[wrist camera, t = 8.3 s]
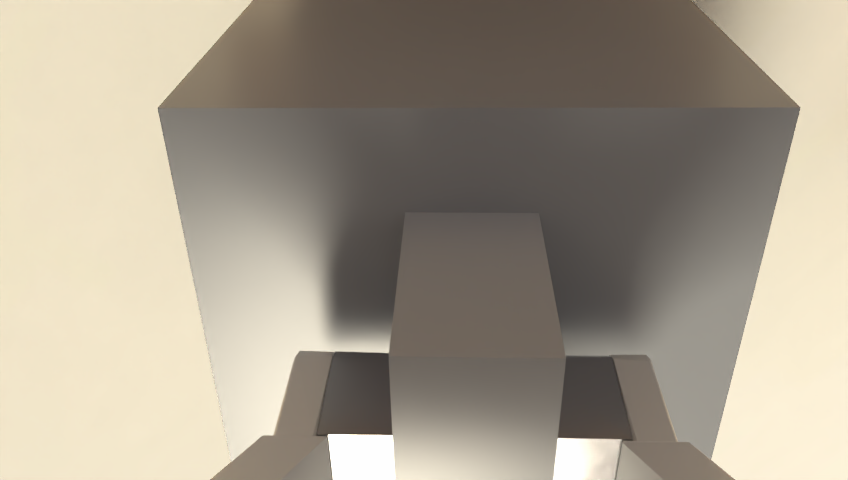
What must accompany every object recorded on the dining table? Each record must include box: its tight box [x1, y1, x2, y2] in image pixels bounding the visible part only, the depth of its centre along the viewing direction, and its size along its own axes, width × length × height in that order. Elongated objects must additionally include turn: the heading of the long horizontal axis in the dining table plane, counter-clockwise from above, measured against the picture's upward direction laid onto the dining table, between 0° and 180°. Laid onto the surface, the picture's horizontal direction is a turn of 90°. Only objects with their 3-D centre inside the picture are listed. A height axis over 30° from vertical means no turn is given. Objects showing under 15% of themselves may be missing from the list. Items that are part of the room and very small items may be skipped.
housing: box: [158, 0, 800, 480], centre depth 13 cm, size 8×8×9 cm
